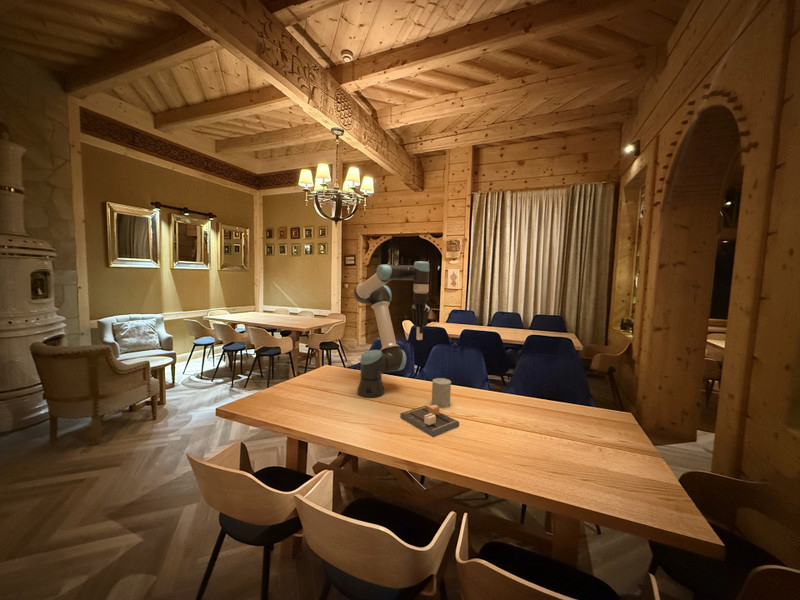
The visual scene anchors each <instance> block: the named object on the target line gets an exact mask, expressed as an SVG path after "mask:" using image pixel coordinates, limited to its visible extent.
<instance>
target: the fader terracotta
mask: <svg viewBox="0 0 800 600" xmlns="http://www.w3.org/2000/svg"><path fill="white" fill-rule="evenodd" d="M439 412H440V408H439V407H438V406H437V405H432V404H431V405H429V406H428V414H434V415H436V414H439Z"/></svg>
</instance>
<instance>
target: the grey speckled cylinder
mask: <svg viewBox="0 0 800 600" xmlns="http://www.w3.org/2000/svg"><path fill="white" fill-rule="evenodd" d="M431 387H432V389H431V391H432V392H431V406H432V405H437V406H438V407H439V409H446V408H449V407H450V406H451V390H452V388H451V387H452V381H451V380H450V379H448V378H444V377H437V378H434V379H433V378H432V386H431Z"/></svg>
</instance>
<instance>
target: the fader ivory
mask: <svg viewBox="0 0 800 600" xmlns="http://www.w3.org/2000/svg"><path fill="white" fill-rule="evenodd" d="M424 423H426V424H427V425H431V424H434V423H436V416H435V415H434V414H428V415H425V416H424Z"/></svg>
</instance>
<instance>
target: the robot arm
mask: <svg viewBox="0 0 800 600" xmlns="http://www.w3.org/2000/svg"><path fill="white" fill-rule="evenodd" d="M390 281H413V292H414V293H412V294H413V295H412V301H413V304H412V305H410V309H411V317H412V324H413V325H415V327H416V328H415V329H416V330H415V333H416V340H417V341H422V340H423V334H424V327H427V325H428V320H429V315H430V312H431V309H432V308H431V307H430V306H428V301H429V291H430V290H429V289H430V287H429V286H430V284H429V283H430V263H429V262H428V261H418V260H417V261H415V262H414V263H413V265H410V264H409V265H407V264H406V265H404V264H402V265H401V264H387V263H386V264H379V265H378V266H377V268H376V272H375V273H374V274H373V275H371V276H370V277H369V278H367V279H366V280H365V281H364V282H360V283H358V284H357V285H356V286H355V287H354V289H353V297H354V299H355V300H356V301H357V302H359V303H360V304H364V305H370V307H371V309H373V311H374V314H375V320H376V324H377V330H378V334H379V338H380V343H381V348H380V349H370V350H367V351H364V352H362V354H361V356H360V379H359V380H360V381H359V383H358V385H357V389H356V393H357V395H358V396H360V397H362V398H366V399H367V398H368V399H371V398H378V397H382V396H383V395H384V394H385V387H384V383H383V380H382V374H386V373H392V372H398V371H402V370H403V369H404V368H406V367H405V366H406V364H407V355H406V352H405V350H403V349H401V346H400V345H399V344H397V341H396V335H395V332H394V328H393V327H394V326H393V323H392V320H391V313H390V310H389V307H390V302H391V301H392V290H391V289H390V287H389V286H388V285H387V283H389V282H390Z"/></svg>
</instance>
